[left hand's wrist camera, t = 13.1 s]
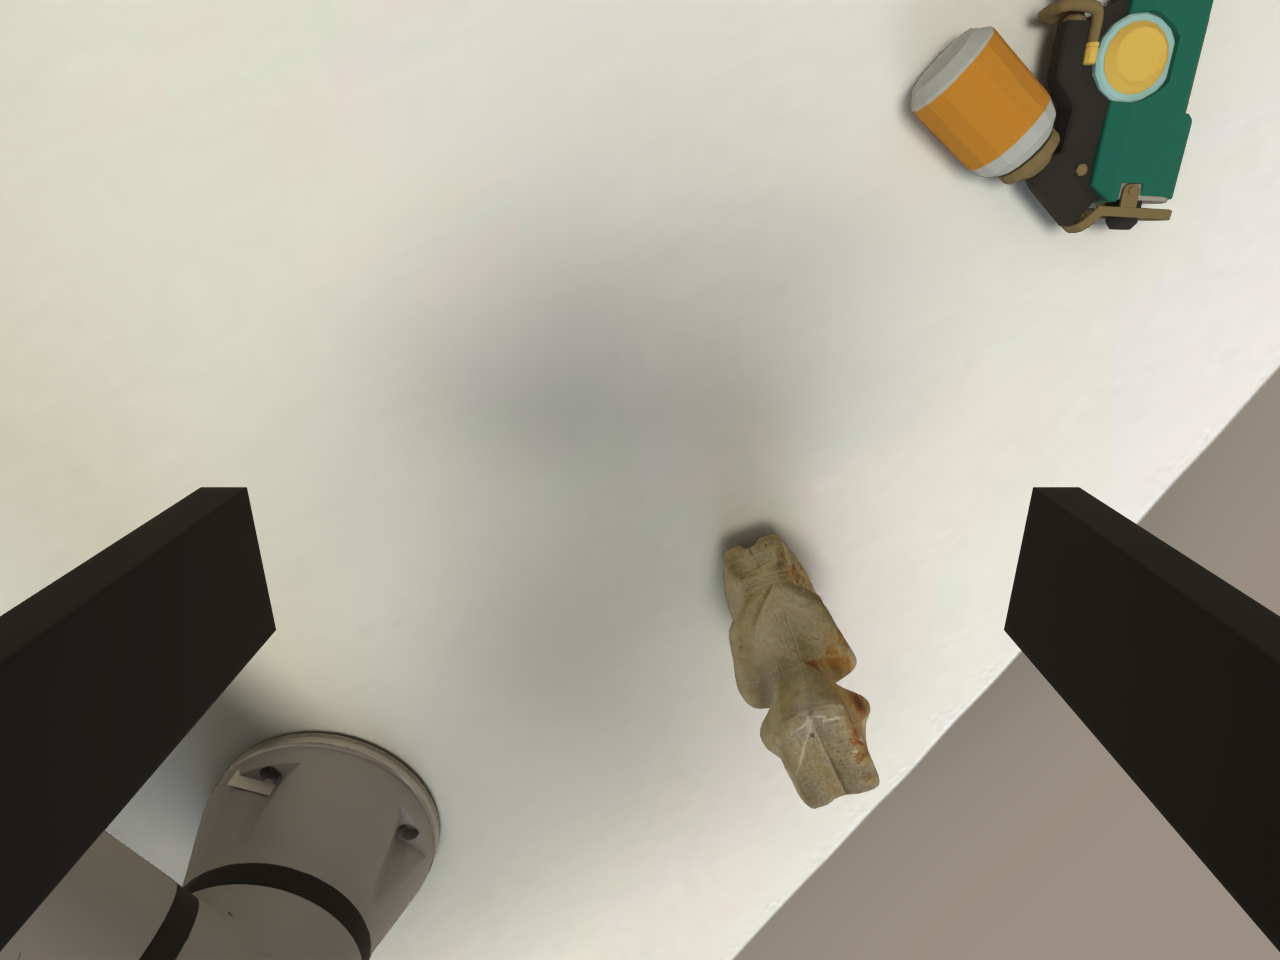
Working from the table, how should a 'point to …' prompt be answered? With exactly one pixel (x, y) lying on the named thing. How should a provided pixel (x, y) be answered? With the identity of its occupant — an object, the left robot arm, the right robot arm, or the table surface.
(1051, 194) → the spray gun
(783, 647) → the sculpture
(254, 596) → the left robot arm
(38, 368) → the table surface
